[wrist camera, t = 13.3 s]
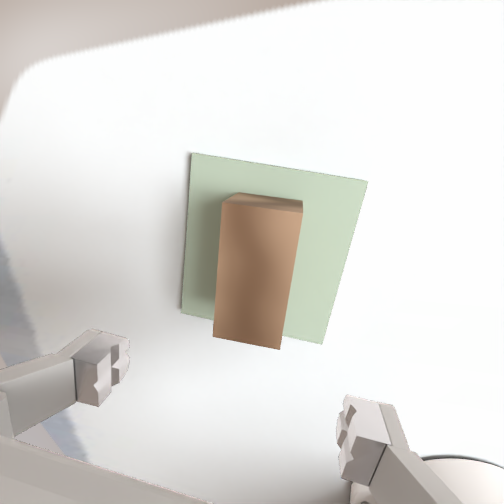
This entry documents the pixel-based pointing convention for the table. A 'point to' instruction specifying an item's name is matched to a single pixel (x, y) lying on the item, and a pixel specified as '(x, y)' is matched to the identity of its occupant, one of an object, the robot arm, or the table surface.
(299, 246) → the rubber mat
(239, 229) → the box
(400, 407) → the table surface
